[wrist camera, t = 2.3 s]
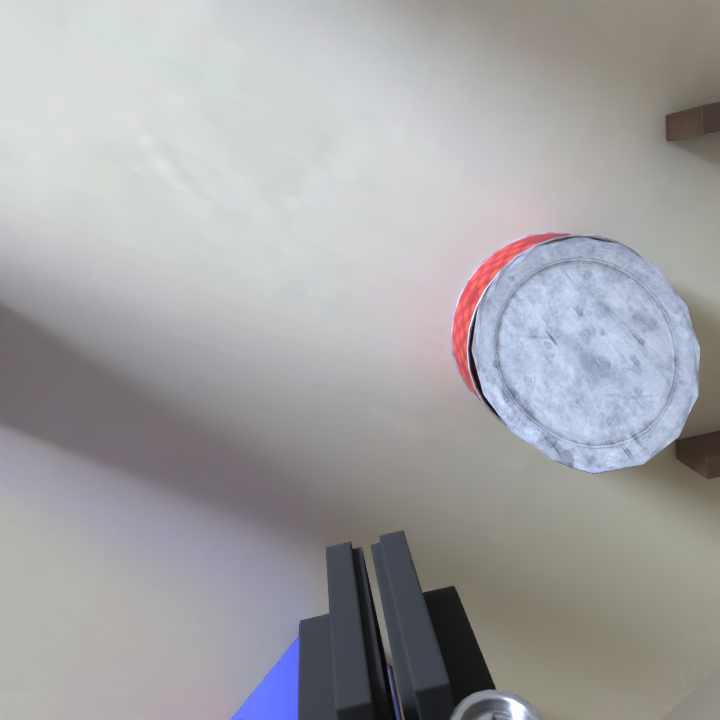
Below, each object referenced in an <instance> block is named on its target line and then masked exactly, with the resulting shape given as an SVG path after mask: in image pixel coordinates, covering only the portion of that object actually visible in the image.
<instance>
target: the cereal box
mask: <svg viewBox="0 0 720 720" xmlns="http://www.w3.org/2000/svg"><path fill="white" fill-rule="evenodd" d="M298 663H299V637H298V638H297V640H296V641H295V642H294V643H293V644H292V646H291V647H290V648H289V649H288V651H287V652H286V653H285V654H284V655H283V657H282V658H281V659H280V660H279V662H278V663H277V664H276V665H275V666H274V668H273V669H272V670H271V671H270V673H269V674H268V675H267V676H266V678H265V679H264V680H263V681H262V682H261V684H260V685H259V686H258V687H257V689H256V690H255V691H254V692H253V693H252V695H251V696H250V697H249V698H248V700H247V701H246V702H245V703H244V704H243V706H242V707H241V708H240V709H239V711H238V712H237V713H236V714H235V715H234V717H233V718H232V719H231V720H298ZM387 668H388V674H389V680H390V685H391V691H392V696H393V702H394V707H395V713H396V719H397V720H402V717H401V712H400V706H399V701H398V696H397V690H396V685H395V680H394V674H393V669H392V666H390V665H388V664H387Z"/></svg>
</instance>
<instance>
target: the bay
mask: <svg viewBox="0 0 720 720" xmlns="http://www.w3.org/2000/svg"><path fill="white" fill-rule="evenodd" d="M666 124H667V141H672V140H677V139H682V138H688V137H693V136H698V135H703V134H708V133H713V132H718V131H720V102H717V103H712V104H706V105H702V106H698V107H694V108H691V109H687V110H683V111H680V112H676V113H672V114H669V115H667V116H666ZM676 449H677V460H679V461H680V462H682V463H683V464H685V465H686V466H688V467H689V468H691V469H692V470H694V471H695V472H697V473H698V474H700V475H701V476H703V477H704V478H706V479H711V478H716V477H720V431H718V432H714V433H709V434H705V435H700V436H695V437H691V438H686V439H682V440H677V441H676Z"/></svg>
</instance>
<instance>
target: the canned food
mask: <svg viewBox="0 0 720 720" xmlns="http://www.w3.org/2000/svg"><path fill="white" fill-rule="evenodd" d="M451 343H452V353H453V357H454V360H455V363H456V366H457V370H458V372H459V374H460V375H461V377H462V379H463V381H464V383H465V384H466V386H467V387H468V388H469V389H470V391H471V392H472V393H473V394H474V395H475V396H476V397H477V398H478V399H479V400H480V401H481V402H482V403H483V404H484V405H485V406H486V407H487V409H488V410H489V411H490V412H491V413H492V414H493V415H494V417H495V418H497V419H498V420H499V421H501V422H502V423H504V424H505V425H506V426H508V428H509V429H510V430H511V431H512V433H513V434H515V435H517V436H518V437H520V438H522V439H523V440H525V441H526V442H528V443H530V444H531V445H533V446H535V447H536V448H537V449H539V450H540V451H542V452H543V453H544V454H546V455H547V456H548V457H550V458H551V459H553V460H554V461H557V462H559V463H561V464H564V465H566V466H569V467H571V468H574V469H578V470H581V471H585V472H589V473H592V474H597V473H602V472H607V471H612V470H617V469H622V468H628V467H633V466H639V465H643V464H645V463H646V462H647V461H648V460H650V459H651V458H652V457H653V456H655V455H656V454H657V453H658V452H660V451H661V450H662V449H664V448H665V447H666V446H667V445H669V444H670V443H671V442H673V441H674V440H675V439H676V438H678V437H679V436H680V434H681V431H682V429H683V427H684V424H685V422H686V420H687V417H688V415H689V413H690V411H691V409H692V407H693V405H694V403H695V401H696V399H697V397H698V395H699V376H698V371H699V360H700V346H699V343H698V341H697V338H696V335H695V332H694V330H693V327H692V323H691V319H690V315H689V312H688V308H687V304H686V303H685V302H684V301H683V300H682V298H681V297H680V296H679V295H678V294H677V292H676V291H675V290H674V289H673V287H672V286H671V285H670V283H669V282H668V280H667V279H666V278H665V276H664V275H663V273H662V272H661V270H660V269H659V268H658V267H656V266H654V265H653V264H651V263H649V262H647V261H646V260H644V259H643V258H641V257H640V256H639V255H638V254H637V253H636V252H635V251H634V250H632V249H630V248H628V247H626V246H625V245H623V244H621V243H619V242H617V241H615V240H611V239H608V238H604V237H601V236H597V235H582V234H574V235H573V234H569V233H555V232H547V233H540V234H534V235H529V236H526V237H523V238H520V239H518V240H515V241H512V242H510V243H509V244H507V245H505V246H504V247H502V248H500V249H499V250H497V251H495V252H494V253H493V254H492V255H491V256H489V257H488V258H487V259H486V260H485V261H484V262H483V263H482V264H480V265H479V267H478V268H477V269H476V270H475V272H474V273H473V274H472V276H471V277H470V278H469V279H468V281H467V283H466V285H465V286H464V288H463V290H462V292H461V294H460V296H459V298H458V301H457V304H456V308H455V311H454V314H453V319H452V329H451Z"/></svg>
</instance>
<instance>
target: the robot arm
mask: <svg viewBox="0 0 720 720" xmlns="http://www.w3.org/2000/svg"><path fill="white" fill-rule="evenodd" d="M379 539H380V543H377V544H372V545H371V549H372V555H373V560H374V565H375V570H376V575H377V580H378V585H379V591H380V596H381V601H382V606H383V611H384V616H385V621H386V626H387V632H388V637H389V642H390V647H391V652H392V657H393V662H394V668H395V673H396V678H397V683H398V688H399V693H400V698H401V703H402V708H403V712H404V717H405V720H542V718H541V717H540V715H539V714H538V712H537V711H536V710H535V709H534V708H533V707H532V706H531V705H530V703H529V702H527V701H526V700H524V699H522V698H521V697H519V696H518V695H516V694H513V693H510V692H507V691H504V690H496V688H495V685H494V683H493V680H492V678H491V675H490V673H489V670H488V668H487V665H486V663H485V660H484V658H483V655H482V653H481V650H480V648H479V645H478V643H477V640H476V638H475V635H474V633H473V630H472V628H471V625H470V623H469V620H468V618H467V615H466V613H465V610H464V608H463V605H462V603H461V600H460V598H459V595H458V593H457V591H456V589H455V587H454V586H450V587H446V588H442V589H437V590H433V591H428V592H424V593H422V590H421V586H420V583H419V580H418V576H417V573H416V570H415V567H414V563H413V560H412V557H411V554H410V550H409V547H408V544H407V541H406V537H405V534H404V531H399V532H394V533H390V534H385V535H381V536H379ZM326 560H327V577H328V594H329V611H330V614H327V615H322V616H318V617H313V618H309V619H304V620H301V621H300V624H299V663H298V720H397V719H396V713H395V707H394V702H393V696H392V691H391V685H390V680H389V674H388V668H387V663H386V658H385V653H384V648H383V643H382V638H381V634H380V629H379V624H378V620H377V615H376V610H375V606H374V601H373V596H372V592H371V587H370V582H369V578H368V573H367V568H366V564H365V559H364V554H363V550H362V547H359V548H354V549H352V545H351V542H349V543H344V544H340V545H335V546H331V547H326Z"/></svg>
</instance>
